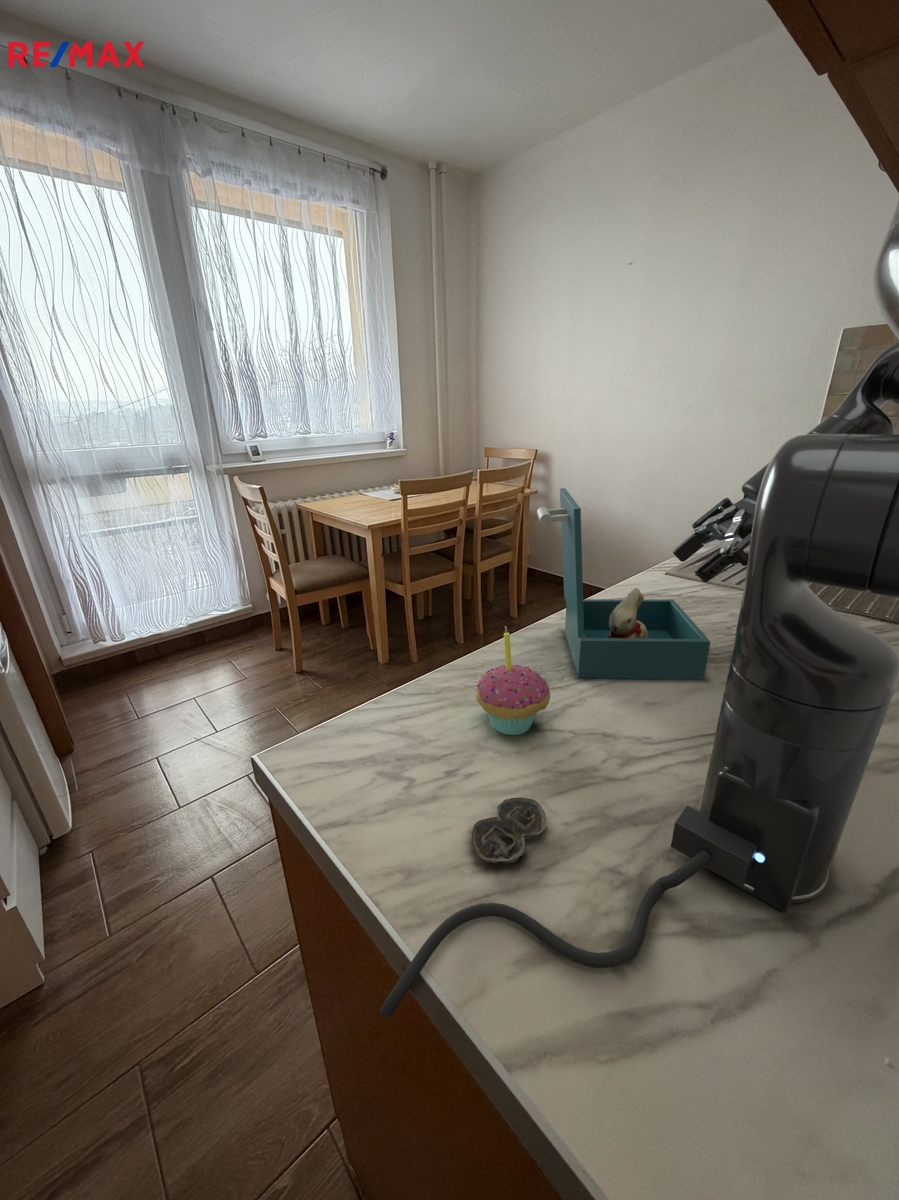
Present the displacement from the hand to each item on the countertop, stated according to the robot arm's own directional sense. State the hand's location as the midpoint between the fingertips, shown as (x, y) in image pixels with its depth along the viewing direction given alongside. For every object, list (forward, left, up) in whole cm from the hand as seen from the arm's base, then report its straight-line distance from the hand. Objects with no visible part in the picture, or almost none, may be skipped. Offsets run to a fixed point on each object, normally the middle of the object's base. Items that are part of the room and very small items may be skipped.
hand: (687, 566), depth 67 cm
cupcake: (-29, +7, -14) cm, 33 cm away
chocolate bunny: (-4, +5, -13) cm, 15 cm away
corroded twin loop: (-42, -3, -14) cm, 45 cm away
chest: (-4, +5, -14) cm, 15 cm away
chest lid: (-10, +12, +1) cm, 16 cm away
